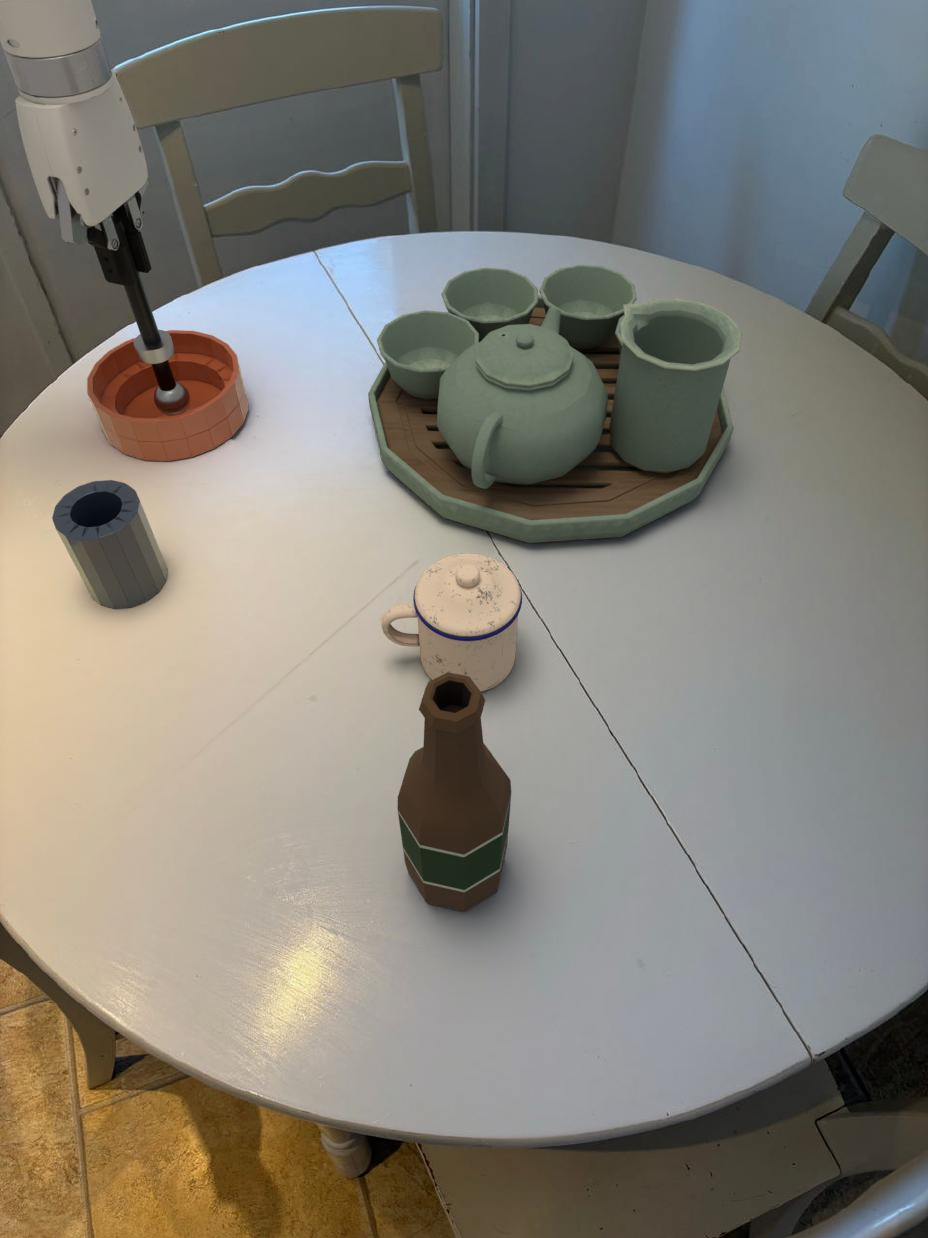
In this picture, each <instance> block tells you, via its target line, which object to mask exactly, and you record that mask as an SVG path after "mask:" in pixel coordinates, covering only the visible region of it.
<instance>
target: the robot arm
mask: <svg viewBox="0 0 928 1238" xmlns="http://www.w3.org/2000/svg"><path fill="white" fill-rule="evenodd" d="M0 44H1V47H2V51H3V53H4V55H5V58H6V61H7V63H8V67H9V69H10V72H11V74H12V78H13V80H14V83H15V85H16V88H17V90H18V93H19V96H17V97H16V98H15V100H14V102H15V109H16V116H17V122H18V127H19V131H20V132H19V133H20V135H21V140H22V144H23V148H24V152H25V155H26V158H27V162H28V166H29V168H30V172H31V176H32V178H33V182H34V184H35V187H36V190H37V193H38V196H39V198H40V201H41V204H42V207H43V209H44V211H45V214H46V215H47V216H48V218H49V219H51V220H59V229H60V238H61V240H62V242H64V243H67V244H73V245H83V244H87V245H88V246H89V247H93V248H94V251H95V254H96V257H97V260H98V263H99V265H100V269H101V271H102V273H103V274H102V275H103V277H104V279H105V281H106V282H107V283H109V284H114V285H119V286H123V285H124V286H128V287H134V286H135V285H136V284H137V279H136V276H135V273H134V270H133V267H132V264H131V261H130V258H129V255H128V251H127V248H126V247H125V245H120V244H119V239H118V236H117V233H116V230H115V227H114V224H113V221H112V218H111V216H119V217H120V218H121V220H122V223H123V226H124V229H125V232H126V235H127V238H128V241H129V244H130V247H131V250H132V253H133V256H134V259H135V262H136V265H137V268H138V271H139V273H143V274H144V273H145V274H148V273H150V272H151V271H152V268H153V267H152V265H151V262H150V258H149V255H148V251H147V247H146V245H145V242H144V237H143V235H142V232H141V231H140V230H142V228H143V224H144V223H143V218H142V215H141V205H142V197H143V195H144V193H145V192H146V189H147V187H148V185H149V180H150V179H149V172H148V165H147V161H146V156H145V152H144V149H143V145H142V142H141V139H140V135H139V132H138V129H137V126H136V124H135V123H136V122H135V120H134V118H133V115H132V112H131V109H130V107H129V104H128V101H127V99H126V97H125V94H124V92H123V90H122V87H121V85H120V83H119V81H118V79H117V76H116V75H115V72H114V71H113V69H111V65H110V64H111V63H110V61H109V58H108V53H107V51H106V47H105V44H104V41H103V35H102V34H101V29H100V27H99V23H98V20H97V16H96V12H95V10H94V5H93V2H92V0H0ZM97 225H99V227H100V229H99V228H97V227H96V226H97ZM124 286H123V287H124Z"/></svg>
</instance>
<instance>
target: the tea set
mask: <svg viewBox="0 0 928 1238" xmlns="http://www.w3.org/2000/svg"><path fill="white" fill-rule="evenodd" d="M539 294H540V295H539ZM441 298H442V301H443V304H444V306H445V308H446V310H447V311H437V310H436V311H435V310H420V311H415V312H410V313H406V314H401V315H400V316H398V317H396V318H395V319H393V320H391V321H389V322H388V323H386V324H384V326H383V328H382V330H381V332H380V333H379V334H378V337H377V339H376V342H377V347H378V351H379V353H380V354H379V355H380V356H381V357H382V359H383V360H384V363H383V366H382V367H381V369H380V371H379V373H378V374H377V376H376V377H375V380H374V381H373V383H372V385H371V387H370V389H369V391H368V394H367V397H368V405H369V411H370V415H371V418H372V423H373V427H374V431H375V436H376V440H377V444H378V449H379V452H380V458H381V461H382V463H383V465H384V467H385V468H386V469H387V470H388V471H389V472H390V473H391V474H392V475H394V476H395V477H396V479H398V480H399V481H400V482H401V483H403V484H404V485H405V486H406V487H407V488H409V490H410V491H412V492H413V493H414V495H416V496H418V497H419V498H420V499H421V500H422V501H423V502H424V503H425V504H427V505H428V506H429V507H430V508H431V509H432V510H433V511H435V512H436V513H437V514H438V515H439V516H440V517H441V518H443V519H446V520H451V521H453V522H457V523H461V524H464V525H467V526H470V527H474V528H477V529H481V530H484V531H487V532H490V533H494V534H497V535H499V536H500V535H501V536H503V537H508V538H511V539H514V540H517V541H520V542H524V543H528V544H533V543H535V544H537V543H550V542H563V541H578V540H589V539H590V540H593V539H607V538H609V539H610V538H621V537H624V536H627V535H628V534H630V533H632V532H634V531H636V530H638V529H640V528H642V527H644V526H646V525H648V524H650V523H652V522H654V521H656V520H659V518H662V517H663V516H665V515H667V514H670V513H671V512H673V511H676V510H677V509H679V508H681V507H683V506H685V505H687V504H689V503H691V502H693V501H694V500H695V499H697V497H698V496H700V493H701V492H702V490H703V488H704V487H705V485H706V483H707V481H708V480H709V478H710V477H711V475H712V473H713V471H714V469H715V468H716V465H717V464H718V462H719V460H720V459H721V457H722V455H723V454H724V453H725V450H726V449H727V446H728V445H729V443H730V441H731V438H732V435H733V433H734V432H733V431H734V425H733V420H732V417H731V412H730V408H729V403H728V399H727V395H726V391H725V386H724V384H725V381H726V377H727V373H728V370H729V366H730V364H731V363H730V362H731V360H732V358H733V357H735V356H736V355H737V354H739V353H740V350H741V345H742V337H743V333H742V332H741V330H740V329H739V327H738V325H737V324H736V323H735V321H734V320H733V318H732V316H730V315H728V314H727V313H725V312H723V311H721V310H720V309H718V308H716V307H714V306H712V305H710V304H708V303H705V302H699V301H695V300H691V299H686V298H682V297H681V298H680V297H679V298H678V297H677V298H659V299H658V298H657V299H652V300H649V301H647V302H644V303H635V302H636V301H638V299H637V292H636V286H635V284H634V283H633V282H632V281H631V280H629V278H627V277H626V276H625V275H624V274H623V273H621V272H619V271H616V270H613V269H611V268H609V267H605V266H603V265H601V266H600V265H590V264H589V265H587V264H576V265H572V266H567V267H560V268H558V269H556V270H555V271H553V272H552V273H550V274H548V275H547V276H545V277H544V278H543V281H542V283H541V285H540V288H539V289H538V287H537V286H536V285H535V283H533V282H532V281H531V280H530V279H529V277H527V276H526V275H523V274H521V273H518V272H515V271H513V270H511V269H508V268H495V267H480V268H476V269H471V270H465V271H462V272H461V273H459V274H457V275H456V276H454V277H452V278H450V279H449V280H447V283H446V284H445V286H444V288H443V290H442V292H441Z"/></svg>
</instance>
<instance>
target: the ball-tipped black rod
mask: <svg viewBox="0 0 928 1238" xmlns="http://www.w3.org/2000/svg"><path fill="white" fill-rule="evenodd" d="M111 218H112V221H113V224H114V227H115V230H116V233H117V236H118V239H119V244H120V245H125V247H126V248H127V251H128V255H129V258H130V261H131V264H132V267H133V270H134V273H135V276H136V279H137V284H136V285H135V286H134V287H128V286H124V285H122V286H123V289H124V291H125V295H126V297H127V300H128V303H129V305H130V308H131V311H132V314H133V317H134V319H135V323H136V325H137V328H138V331H139V334H138V335H137V336H136V337H134V338H135V340H134V347H135V350H136V352H137V355H138V358H139V360H140V361H142V362H144V363H147V364H151V365H152V368H153V371H154V374H155V377H156V380H157V382H158V385H159V386H158V387H157V388H156V390H155V392H154V402H155V405H156V407H157V408H158V409H159V410H160V411H161V412H162V413H163V414H165V415H168V416H174V415H179V414H182V413H184V412H185V411H186V410H187V409H188V407H189V405H190V395H189V392H188V390H187V389H186V388H185V387H184V386H183V385H182V384H181V383H179V382H176V381H175V379H174V376H173V373H172V370H171V367H170V364H169V361H168V359H170V358H171V357H172V356H173V355H174V353H175V348H174V345H173V342H172V339H171V336H170V334H169V333H168V332H166V331H167V330H163V329H158V325H157V322H156V319H155V315H154V313H153V310H152V306H151V304H150V301H149V298H148V295H147V292H146V289H145V286H144V283H143V280H142V277H141V274H140V272H139V271H138V268H137V265H136V262H135V259H134V256H133V253H132V250H131V247H130V244H129V241H128V238H127V235H126V232H125V229H124V226H123V223H122V220H121V218H120V217H119V216H111Z"/></svg>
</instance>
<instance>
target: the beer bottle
mask: <svg viewBox="0 0 928 1238" xmlns="http://www.w3.org/2000/svg"><path fill="white" fill-rule="evenodd" d="M485 703H486V699H485V696H484V695H483V693H482V692H481V691H480V690H479V689H478V687H477V686H476V685H475V683H474V682H473V681H472V679H471V678H470V677H469V676H464V675H459V674H454V673H449V672H447V673H445V674H443V675H441V676H439V677H437V678H435V679H433V680H432V679H431V680H428V682H427V684H426V686H425V689H424V692H423V695H422V698H421V701H420V704H419V707H418V711H419V712H420V713H421V715H422V717H423V718H424V723H423V724H424V725H423V746H422V747H420V748H418V749H417V750H414V751H413V753H412V754H411V756H410V758H409V759H408V762H407V766H406V769H405V771H404V775H403V779H402V783H401V785H400V788H399V791H398V795H397V816H398V822H399V828H400V837H401V844H402V851H403V859H404V863H405V868H406V871H407V873H408V874H409V876H410V877H411V880H412V881H413V882H414V884H415V886H416V888H417V889H418V891H419V892H420V894H421V895H422V897H423V900H424V901H425V903H426V904H430V905H435V906H439V907H443V908H447V909H450V910H454V911H455V910H456V911H460V912H466V911H468V910H470V909H471V908H473V907H475V906H477V904H479V903H481V902H483V901H484V900H486V899H488V898H489V897H491V896H492V895H494V894H496V893H497V892H498V891H499V890H498V889H499V884H500V880H501V876H502V871H503V866H504V863H505V858H506V854H507V849H508V838H509V827H510V815H511V803H512V782H511V779H510V777H509V776H508V775H507V773H506V772H505V770H504V768H503V767H502V766H501V765H500V763H499V762H498V761H497V759H496V757H495V756H494V755H493V753H492V752H491V750H490V749H489V748H488V746H487V745H486V744H485V743H484V735H483V725H482V715H483V712H484V707H485Z"/></svg>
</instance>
